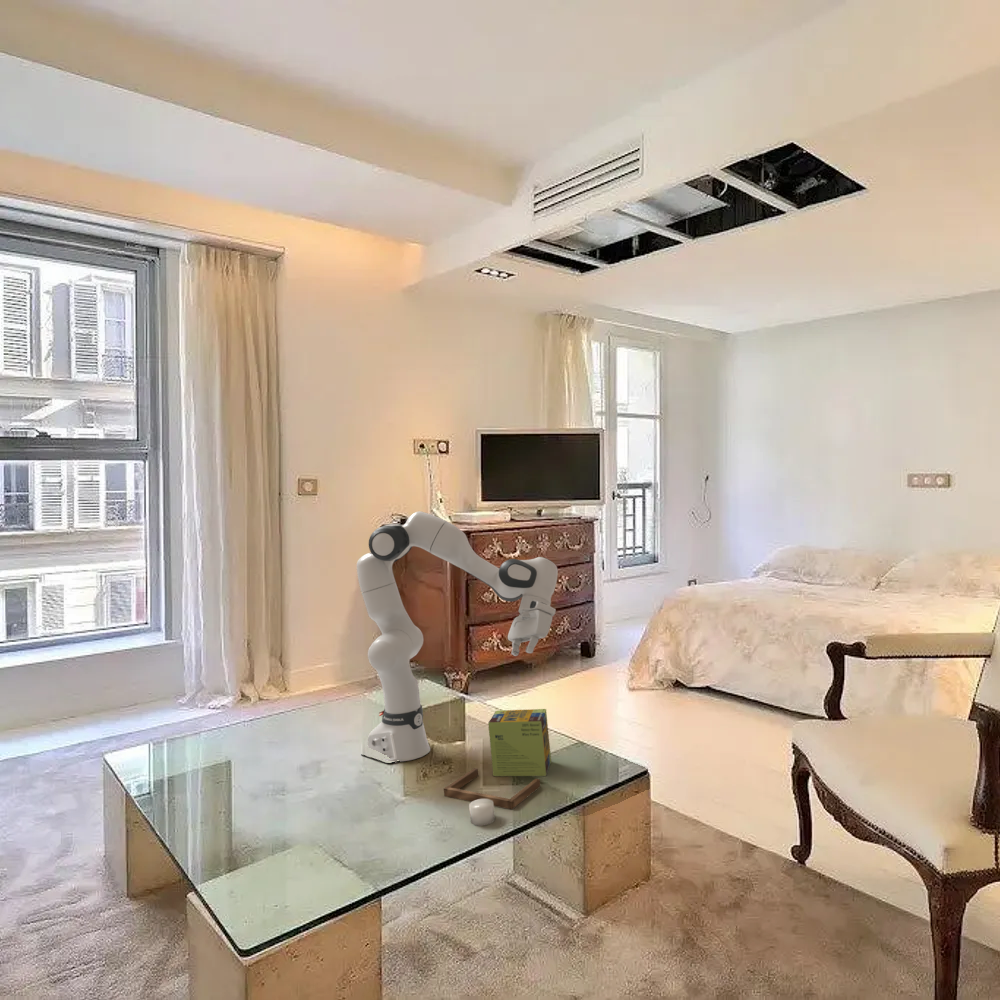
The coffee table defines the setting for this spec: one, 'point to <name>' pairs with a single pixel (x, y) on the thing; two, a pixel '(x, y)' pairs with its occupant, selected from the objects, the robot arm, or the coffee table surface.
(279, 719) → the coffee table surface
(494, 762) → the protein box
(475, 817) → the white rounded block
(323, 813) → the coffee table surface
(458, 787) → the open wooden frame
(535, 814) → the coffee table surface
